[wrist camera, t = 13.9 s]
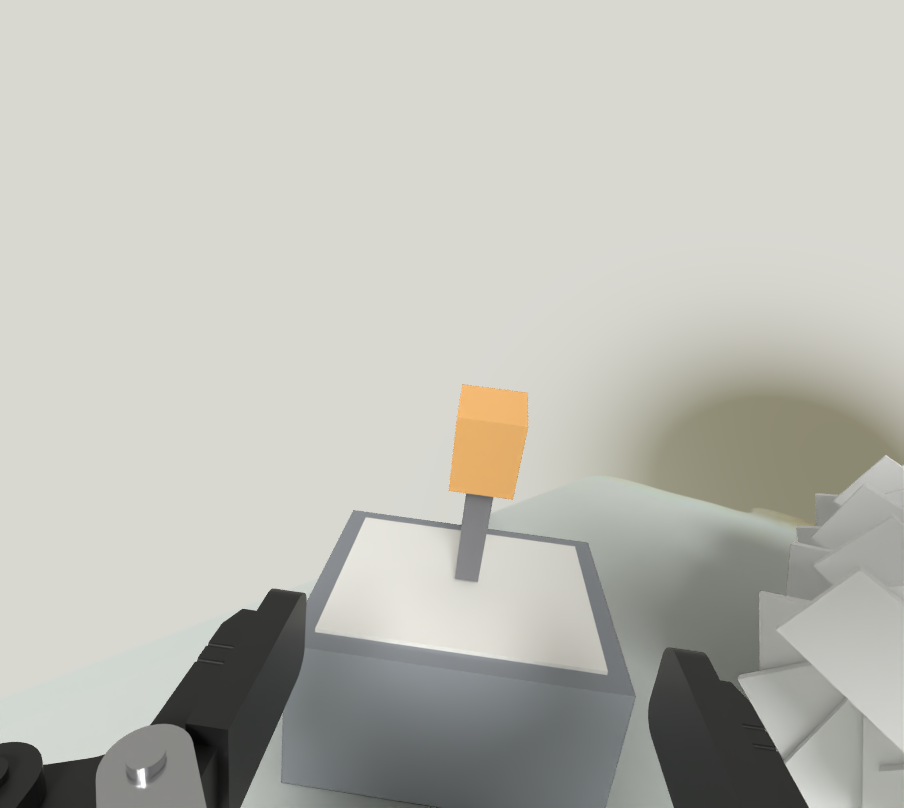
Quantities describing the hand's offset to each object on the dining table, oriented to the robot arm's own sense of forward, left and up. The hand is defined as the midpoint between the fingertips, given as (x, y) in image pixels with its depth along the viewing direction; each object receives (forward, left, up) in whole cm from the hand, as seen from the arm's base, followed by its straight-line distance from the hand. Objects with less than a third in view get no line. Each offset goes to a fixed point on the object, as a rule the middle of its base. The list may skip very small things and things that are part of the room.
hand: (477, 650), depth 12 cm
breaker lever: (-9, -12, -8) cm, 17 cm away
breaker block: (-9, -12, -17) cm, 22 cm away
